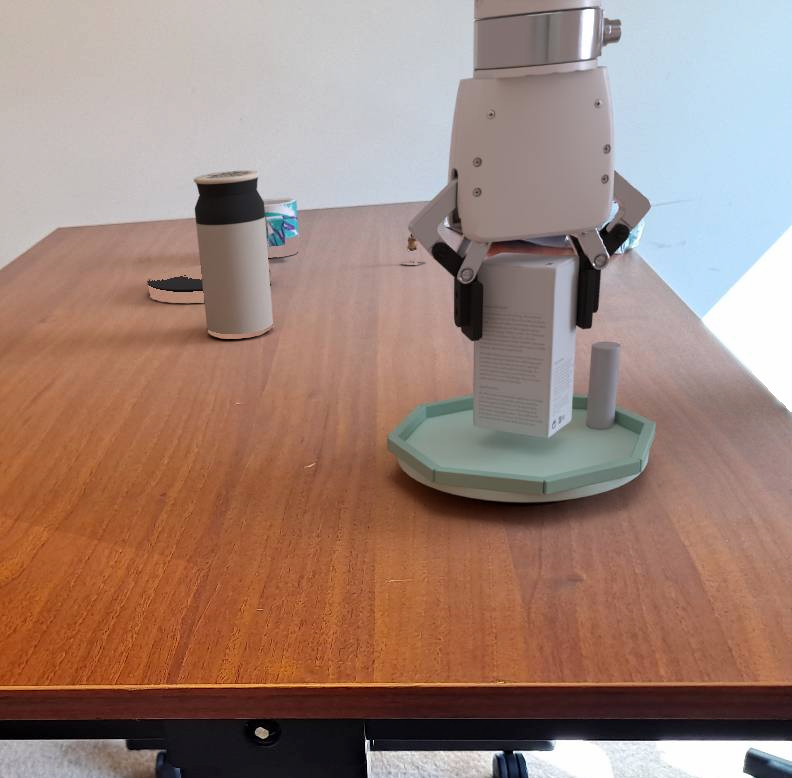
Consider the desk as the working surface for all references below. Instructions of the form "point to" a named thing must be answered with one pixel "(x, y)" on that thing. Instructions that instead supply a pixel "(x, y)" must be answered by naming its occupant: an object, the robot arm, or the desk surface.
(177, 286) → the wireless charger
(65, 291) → the desk surface
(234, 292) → the travel mug
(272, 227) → the mug
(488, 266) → the cosmetic box
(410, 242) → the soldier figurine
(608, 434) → the tray
